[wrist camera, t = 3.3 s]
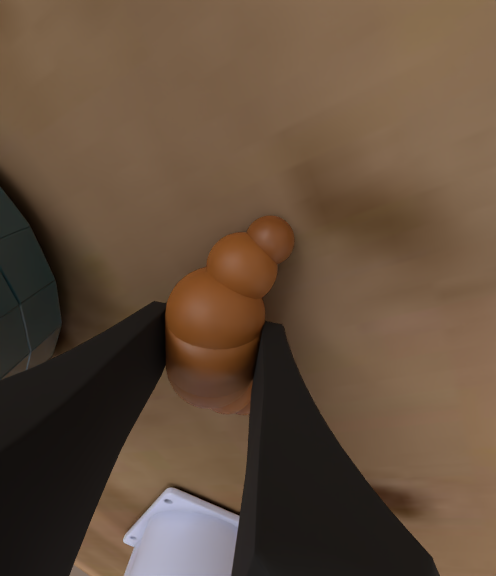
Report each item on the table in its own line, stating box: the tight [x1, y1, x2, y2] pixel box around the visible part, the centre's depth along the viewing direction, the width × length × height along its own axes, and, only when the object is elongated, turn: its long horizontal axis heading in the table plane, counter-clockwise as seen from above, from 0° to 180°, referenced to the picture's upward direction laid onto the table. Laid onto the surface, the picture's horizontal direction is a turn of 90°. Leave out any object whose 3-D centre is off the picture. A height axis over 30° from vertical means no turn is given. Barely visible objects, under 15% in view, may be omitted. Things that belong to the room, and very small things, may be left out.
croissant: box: [165, 216, 294, 415], centre depth 10 cm, size 4×8×3 cm, turn 173°
